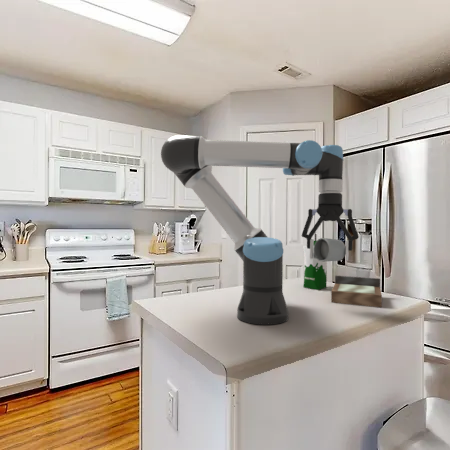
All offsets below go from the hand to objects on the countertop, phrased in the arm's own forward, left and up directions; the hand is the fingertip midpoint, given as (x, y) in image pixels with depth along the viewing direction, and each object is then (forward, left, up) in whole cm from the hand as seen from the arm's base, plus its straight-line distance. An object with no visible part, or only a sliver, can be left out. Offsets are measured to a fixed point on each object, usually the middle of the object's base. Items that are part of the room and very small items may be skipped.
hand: (328, 259), depth 107 cm
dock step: (+8, +15, -16) cm, 23 cm away
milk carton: (-9, +30, -16) cm, 35 cm away
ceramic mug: (-1, +1, -1) cm, 1 cm away
